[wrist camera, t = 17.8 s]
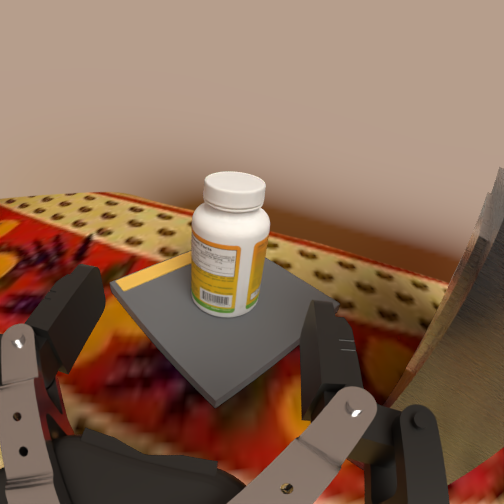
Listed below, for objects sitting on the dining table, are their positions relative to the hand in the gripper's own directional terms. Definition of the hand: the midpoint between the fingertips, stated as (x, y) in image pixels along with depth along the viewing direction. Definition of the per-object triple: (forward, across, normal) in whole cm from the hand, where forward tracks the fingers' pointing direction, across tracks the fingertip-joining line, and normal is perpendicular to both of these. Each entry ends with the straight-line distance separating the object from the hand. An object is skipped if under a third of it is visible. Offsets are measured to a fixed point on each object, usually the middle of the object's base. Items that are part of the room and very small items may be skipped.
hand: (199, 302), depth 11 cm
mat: (+11, 0, -10) cm, 15 cm away
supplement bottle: (+11, 0, -9) cm, 14 cm away
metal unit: (+3, +17, -10) cm, 20 cm away
